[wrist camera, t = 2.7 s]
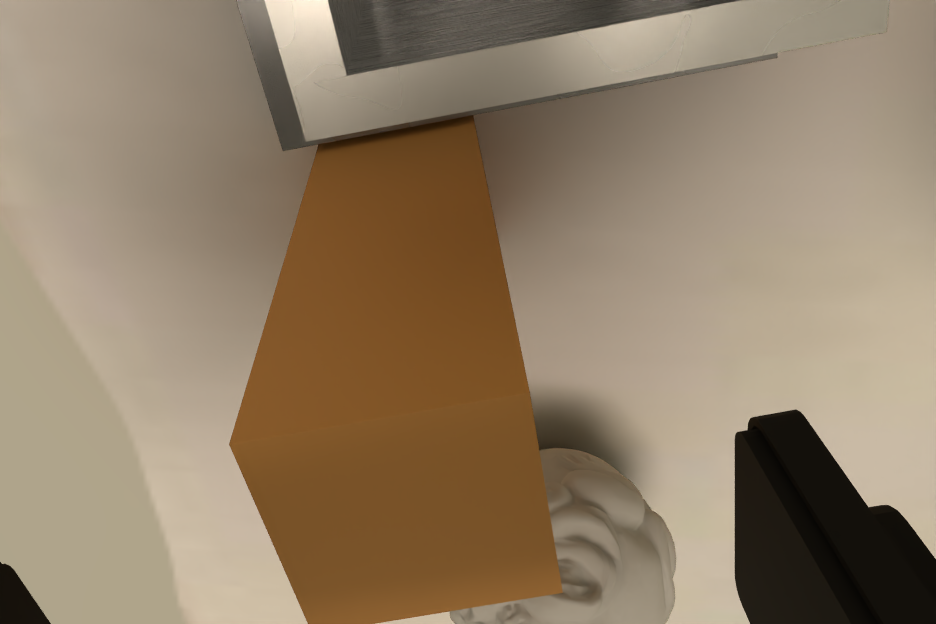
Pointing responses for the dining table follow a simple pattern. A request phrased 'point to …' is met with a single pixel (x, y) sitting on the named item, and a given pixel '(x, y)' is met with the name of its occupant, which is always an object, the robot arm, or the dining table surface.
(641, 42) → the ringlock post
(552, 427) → the dining table surface
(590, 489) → the plaster head sculpture
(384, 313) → the orange rectangular block
